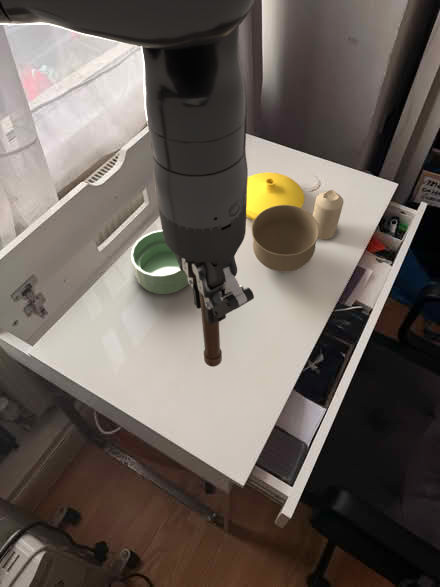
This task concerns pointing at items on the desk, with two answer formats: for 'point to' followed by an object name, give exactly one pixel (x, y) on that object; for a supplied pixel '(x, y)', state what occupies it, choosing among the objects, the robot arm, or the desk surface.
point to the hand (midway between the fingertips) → (209, 311)
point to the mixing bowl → (157, 265)
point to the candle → (327, 213)
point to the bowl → (284, 237)
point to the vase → (271, 193)
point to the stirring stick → (210, 339)
